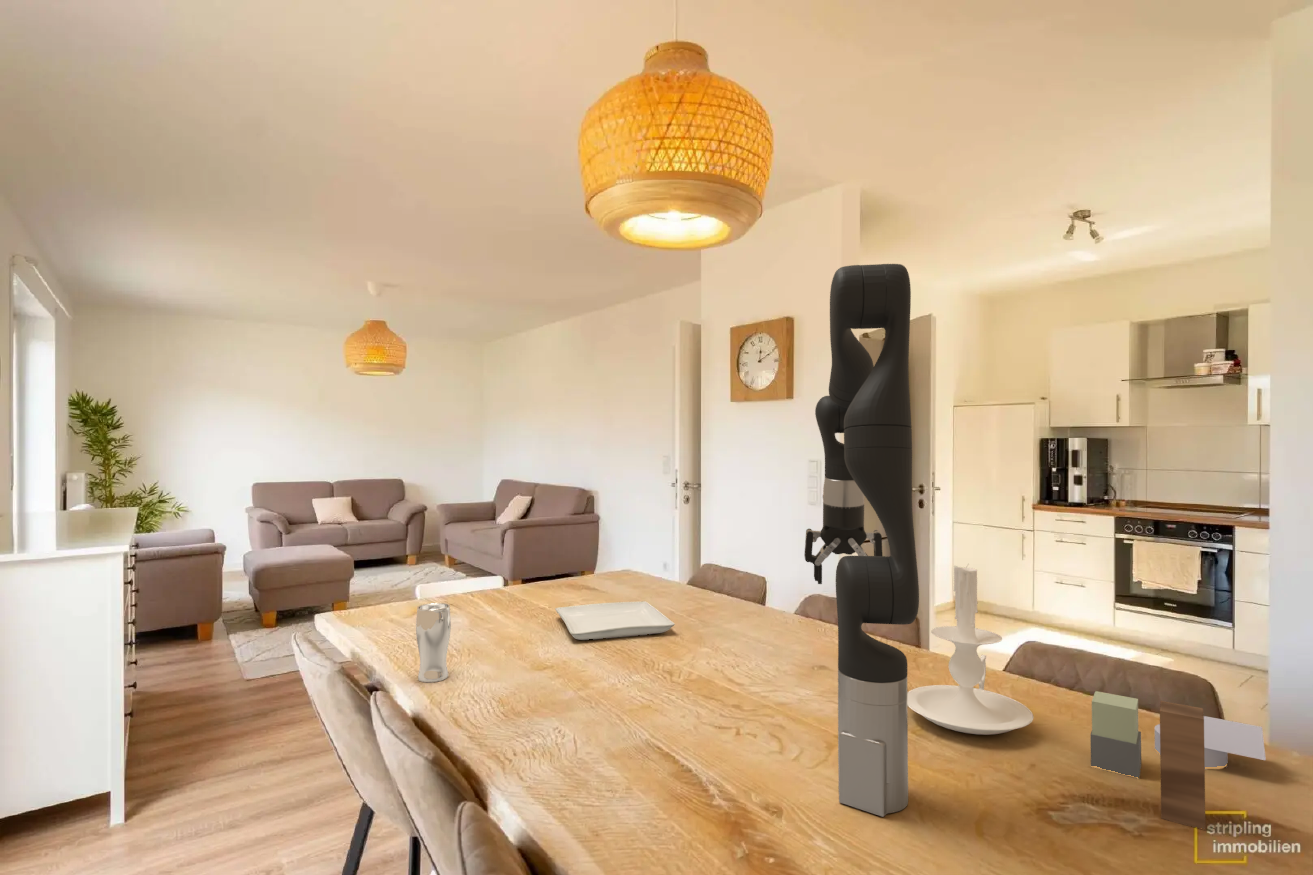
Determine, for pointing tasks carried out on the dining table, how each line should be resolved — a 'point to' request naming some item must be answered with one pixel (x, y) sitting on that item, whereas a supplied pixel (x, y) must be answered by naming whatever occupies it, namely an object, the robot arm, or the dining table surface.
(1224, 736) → the wedge on round base
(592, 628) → the square plate
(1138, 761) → the tower base
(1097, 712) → the tower top
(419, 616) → the beer glass
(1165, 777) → the walnut pillar
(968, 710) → the candlestick
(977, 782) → the dining table surface
